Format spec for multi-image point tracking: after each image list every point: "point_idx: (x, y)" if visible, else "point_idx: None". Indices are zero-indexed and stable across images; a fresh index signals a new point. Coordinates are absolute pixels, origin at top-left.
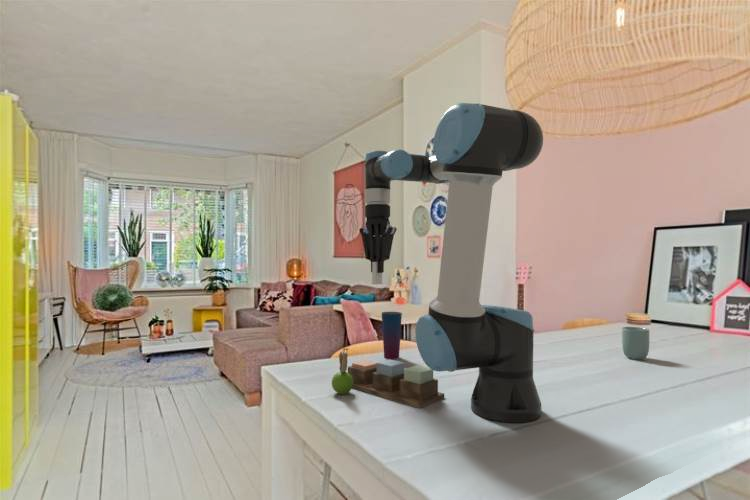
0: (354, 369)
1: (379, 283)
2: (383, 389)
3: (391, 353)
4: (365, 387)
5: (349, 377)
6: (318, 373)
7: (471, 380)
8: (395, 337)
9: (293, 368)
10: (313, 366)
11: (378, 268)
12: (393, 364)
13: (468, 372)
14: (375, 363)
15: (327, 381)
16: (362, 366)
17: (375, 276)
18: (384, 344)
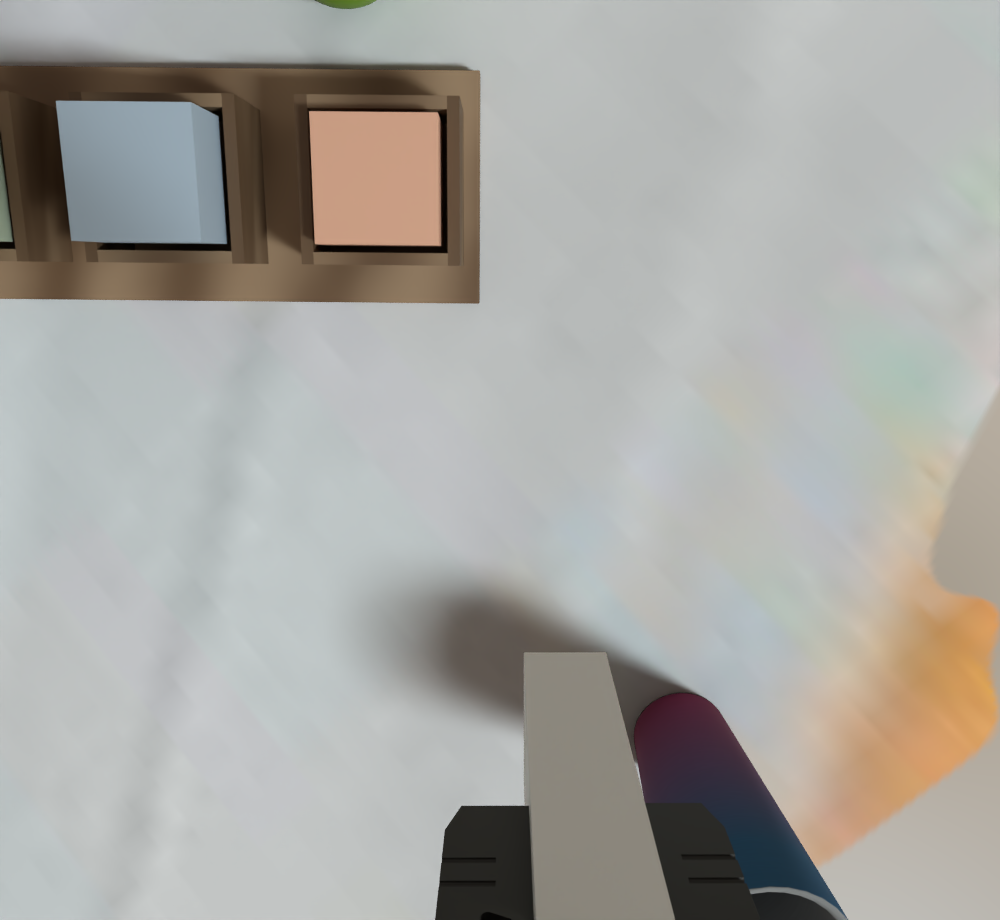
0: (396, 96)
1: (524, 734)
2: None
3: (657, 720)
4: (282, 77)
5: None
6: (768, 152)
7: (47, 638)
8: (655, 800)
9: (988, 116)
10: (916, 246)
11: (503, 869)
12: (81, 146)
13: (153, 751)
14: (318, 218)
15: (594, 66)
16: (338, 112)
17: (541, 721)
18: (720, 739)
